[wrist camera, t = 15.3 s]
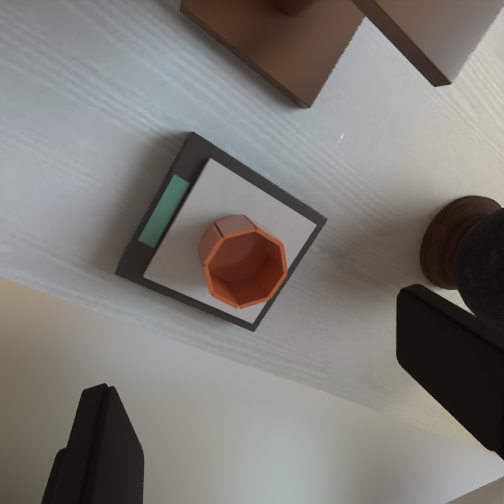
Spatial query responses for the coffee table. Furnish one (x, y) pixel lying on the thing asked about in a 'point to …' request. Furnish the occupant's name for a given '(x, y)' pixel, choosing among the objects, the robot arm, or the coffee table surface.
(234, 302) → the bowl
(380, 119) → the coffee table surface
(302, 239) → the scale
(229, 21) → the stand
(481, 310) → the black orb ornament
